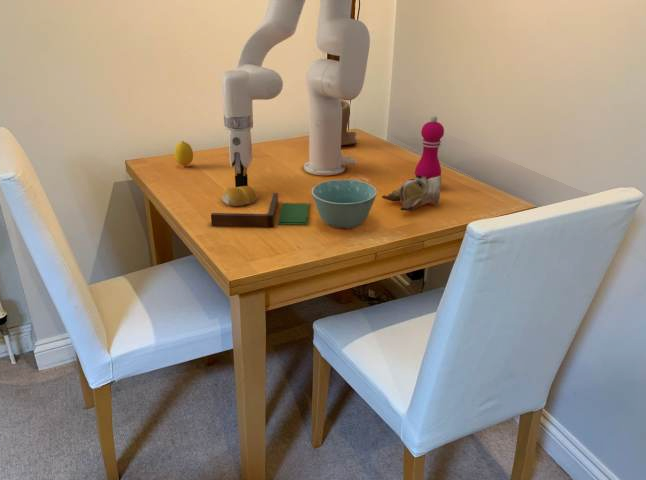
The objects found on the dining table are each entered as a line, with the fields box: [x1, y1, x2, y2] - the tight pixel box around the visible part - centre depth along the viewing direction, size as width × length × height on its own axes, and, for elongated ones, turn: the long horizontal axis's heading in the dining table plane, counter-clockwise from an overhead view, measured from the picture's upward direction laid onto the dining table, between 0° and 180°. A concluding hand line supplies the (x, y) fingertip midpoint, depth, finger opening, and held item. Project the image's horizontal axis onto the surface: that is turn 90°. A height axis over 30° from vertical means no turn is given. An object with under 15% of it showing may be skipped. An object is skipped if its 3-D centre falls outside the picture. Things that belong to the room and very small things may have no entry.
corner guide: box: [210, 192, 279, 228], centre depth 147 cm, size 15×15×3 cm
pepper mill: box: [414, 115, 445, 180], centre depth 160 cm, size 7×7×20 cm
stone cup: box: [340, 99, 357, 146], centre depth 196 cm, size 15×12×15 cm
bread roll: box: [221, 185, 257, 207], centre depth 155 cm, size 8×9×4 cm
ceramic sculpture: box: [381, 175, 442, 212], centre depth 151 cm, size 11×9×15 cm
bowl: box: [311, 179, 378, 230], centre depth 142 cm, size 16×16×8 cm
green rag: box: [277, 202, 310, 226], centre depth 148 cm, size 7×13×1 cm, turn 178°
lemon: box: [173, 140, 194, 168], centre depth 177 cm, size 6×6×8 cm
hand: (241, 188), depth 160 cm, fingers closed
